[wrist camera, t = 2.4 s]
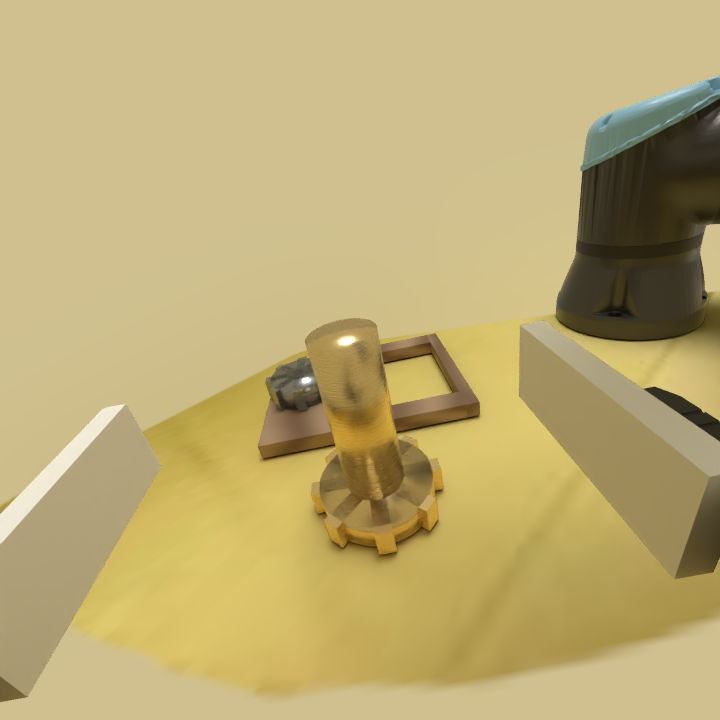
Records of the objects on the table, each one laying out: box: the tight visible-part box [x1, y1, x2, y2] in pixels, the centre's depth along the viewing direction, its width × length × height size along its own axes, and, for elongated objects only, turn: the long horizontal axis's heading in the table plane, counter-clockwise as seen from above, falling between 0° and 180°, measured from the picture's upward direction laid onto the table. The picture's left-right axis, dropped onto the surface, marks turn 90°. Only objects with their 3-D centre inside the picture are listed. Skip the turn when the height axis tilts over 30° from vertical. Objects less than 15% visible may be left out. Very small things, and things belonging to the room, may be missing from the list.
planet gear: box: [305, 318, 443, 555], centre depth 25 cm, size 10×10×14 cm
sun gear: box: [265, 357, 322, 412], centre depth 41 cm, size 8×8×2 cm
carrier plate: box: [258, 334, 480, 458], centre depth 41 cm, size 21×16×2 cm
